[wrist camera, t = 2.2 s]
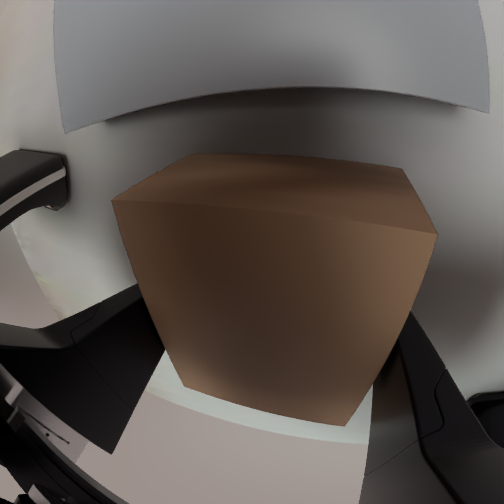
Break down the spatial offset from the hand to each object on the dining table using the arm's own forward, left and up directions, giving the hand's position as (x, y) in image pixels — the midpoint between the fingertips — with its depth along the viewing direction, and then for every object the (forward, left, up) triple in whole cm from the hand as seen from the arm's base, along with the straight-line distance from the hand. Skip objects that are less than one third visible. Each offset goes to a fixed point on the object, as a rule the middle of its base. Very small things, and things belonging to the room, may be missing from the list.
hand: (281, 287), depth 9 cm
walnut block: (0, 0, -1) cm, 1 cm away
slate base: (+1, -12, -1) cm, 12 cm away
